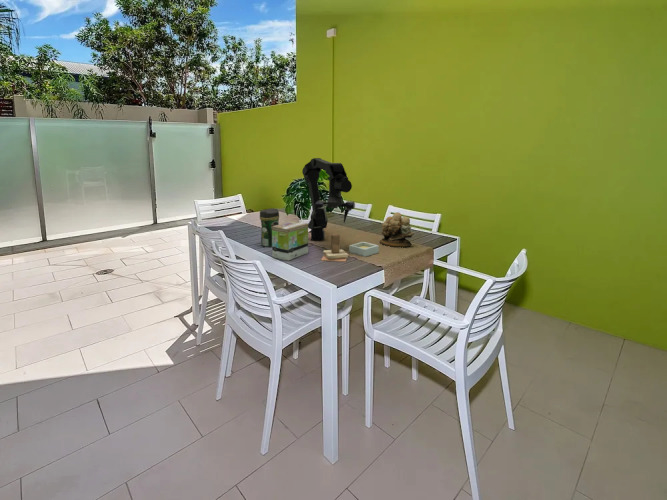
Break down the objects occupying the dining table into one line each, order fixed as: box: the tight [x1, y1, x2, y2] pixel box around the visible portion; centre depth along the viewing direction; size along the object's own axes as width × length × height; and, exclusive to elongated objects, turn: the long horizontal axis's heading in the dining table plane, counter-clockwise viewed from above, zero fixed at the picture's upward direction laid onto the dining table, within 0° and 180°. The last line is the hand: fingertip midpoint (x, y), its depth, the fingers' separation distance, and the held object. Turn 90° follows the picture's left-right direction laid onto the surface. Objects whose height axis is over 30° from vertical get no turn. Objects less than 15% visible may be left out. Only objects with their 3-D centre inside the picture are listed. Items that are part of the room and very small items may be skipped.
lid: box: [322, 233, 349, 259], centre depth 170 cm, size 9×9×10 cm
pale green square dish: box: [348, 241, 380, 258], centre depth 179 cm, size 10×10×4 cm
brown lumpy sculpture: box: [379, 212, 415, 249], centre depth 191 cm, size 18×12×17 cm, turn 60°
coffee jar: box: [259, 207, 280, 248], centre depth 189 cm, size 10×8×19 cm
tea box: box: [271, 220, 309, 262], centre depth 173 cm, size 15×10×15 cm, turn 148°
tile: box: [320, 253, 350, 263], centre depth 172 cm, size 11×11×1 cm
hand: (335, 222), depth 184 cm, fingers open, 9 cm apart
